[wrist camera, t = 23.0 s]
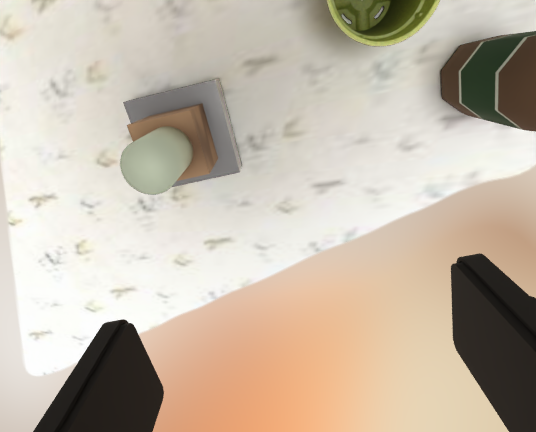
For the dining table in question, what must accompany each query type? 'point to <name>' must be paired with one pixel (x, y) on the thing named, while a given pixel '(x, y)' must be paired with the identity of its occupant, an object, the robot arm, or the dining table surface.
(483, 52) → the beer bottle
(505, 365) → the robot arm
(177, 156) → the tin
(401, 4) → the plant pot
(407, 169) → the dining table surface
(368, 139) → the dining table surface
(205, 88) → the plinth
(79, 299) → the dining table surface
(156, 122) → the cube
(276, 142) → the dining table surface
